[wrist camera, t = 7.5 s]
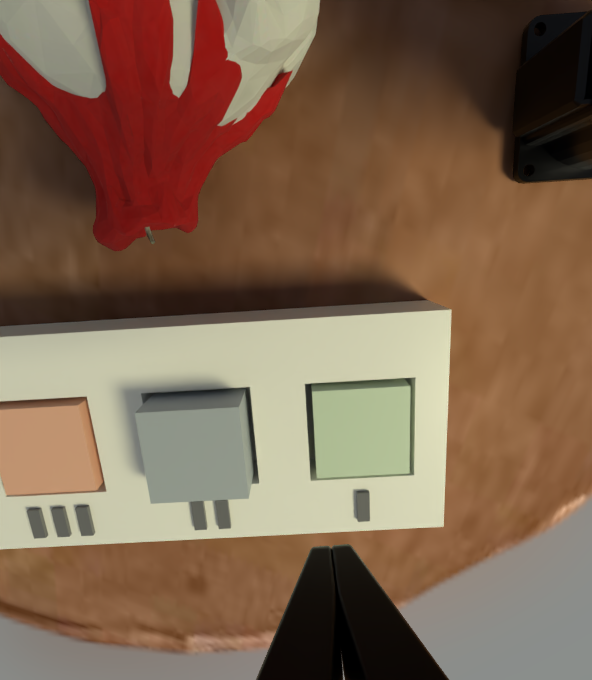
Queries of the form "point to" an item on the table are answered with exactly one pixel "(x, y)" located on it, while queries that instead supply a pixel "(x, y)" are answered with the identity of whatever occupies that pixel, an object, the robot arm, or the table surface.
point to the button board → (264, 417)
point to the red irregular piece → (152, 91)
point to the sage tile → (361, 427)
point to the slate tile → (196, 445)
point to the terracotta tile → (48, 446)
